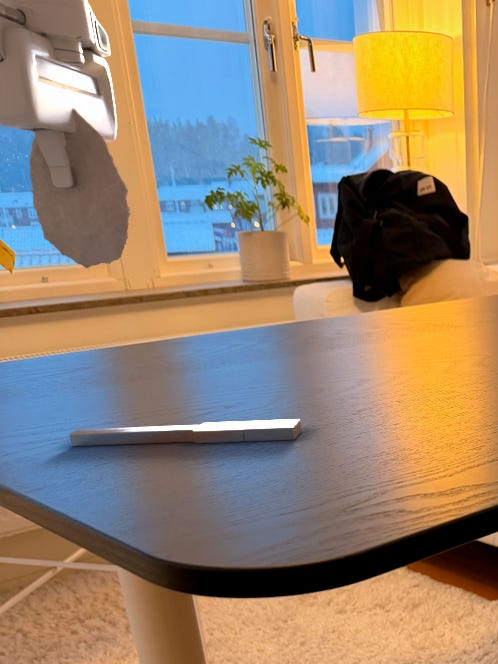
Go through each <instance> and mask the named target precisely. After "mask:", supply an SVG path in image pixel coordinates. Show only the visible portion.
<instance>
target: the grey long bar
mask: <svg viewBox="0 0 498 664" xmlns="http://www.w3.org/2000/svg"><path fill="white" fill-rule="evenodd" d="M301 433H302V423H301V419H300V418H298V419H297V418H294V419H270V420H267V419H266V420H245V421H243V420H242V421H241V420H240V421H219V422H218V421H217V422H203V423H201V424H187V425H186V424H185V425H163V426H162V425H161V426H138V427H134V426H133V427H112V428H111V427H110V428H109V427H108V428H88V429H87V428H85V429H84V428H83V429H77V430H75V431H73V432H70V433H69V439H70V443H71V446H72V447H90V446H91V447H92V446H93V447H95V446H119V445H144V444H145V445H146V444H147V445H148V444H168V443H169V444H170V443H172V444H173V443H194V444H195V445H196V444H197V445H198V444H221V443H223V444H224V443H243V442H246V443H247V442H268V441H269V442H271V441H272V442H274V441H295V440H296V439H297V438H298V437H299V435H300V434H301Z"/></svg>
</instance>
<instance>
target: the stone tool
mask: <svg viewBox="0 0 498 664" xmlns="http://www.w3.org/2000/svg"><path fill="white" fill-rule="evenodd" d="M73 115H74V120H75V124H76V132H75V133H66V132H64V136H65V141H66V146H64V148H65V151H66V154H67V157H68V160H69V163H70V166H71V167H74V170H75V178H76V180H77V185H76V187H74V188H57V187H55V186H54V184H53V182H52V177H51V172H50V168H49V166H48V164H47V162H46V160H45V158H44V156H43V154H42V152H41V150H40V148H39V146H38V142H37V137H36V132H34V135H33V139H32V143H31V150H30V155H29V161H28V162H29V164H28V165H29V177H30V182H31V188H32V191H31V193H32V204H33V208H34V210H35V212H36V216H37V219H38V222H39V224H40V226H41V230H42V237H43V239H44V240H45V241H48V243H49V244H50V245H52V246H53V247H54V248H55V249H56V250H58V251H59V254H61V255H62V256H65V257H67V258H70V259H71V260H72V261H73V262H74V263H76V264H77V265H80V266H83V267H84V268H85V269H89V268H91V267H93V266H98V265H101V264H106V265H107V264H108V265H111V263H113V262H115V261H118V260H119V259H120V258H121V257H122V255H123V251H124V249H125V245H127V240H128V239H129V236H128V230H129V218H130V215H131V214H132V213H131V212H130V211H131V208H130V206H129V203H128V192H129V189H128V187H127V184H126V182H125V181H124V179H123V177H122V175H121V173H120V172H119V169H118V167H117V166H116V164H115V161H114V157H113V155H112V154H111V151H110V148H109V147H108V143H107V142H105V141H104V139H103V137H102V136H101V135H100V134H99V132H98V131H96V130H95V129H94V128H93V127H92V126H91V125H90V124H89V123H88V122H87V121H86V120H85V119H84V118H83V117H82V116H81V115H80V114H79V113H78V112H77V111H76V110H75V109H73Z"/></svg>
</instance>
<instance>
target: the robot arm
mask: <svg viewBox="0 0 498 664" xmlns="http://www.w3.org/2000/svg"><path fill="white" fill-rule="evenodd" d="M111 53H112V52H111V45H110V39H109V35H108V33H107V32H106V30H105V29H104V27H103V26H102V25H101V23H100V22H99V21H98V19H97V17H96V16H95V14H94V12H93V10H92V7H91V5H90V3H89V2H88V0H0V126H1V127H5V128H11V129H15V130H21V131H26V132H32V133H35V132H36V137H37V142H38V146H39V148H40V150H41V152H42V154H43V156H44V158H45V160H46V162H47V164H48V166H49V168H50V172H51V177H52V182H53V184H54V186H55V187H57V188H74V187H76V185H77V180H76V178H75V170H74V167H71V166H70V163H69V160H68V157H67V154H66V151H65V148H64V146H66V141H65V136H64V132H66V133H75V132H76V124H75V120H74V115H73V109H75V110H76V111H77V112H78V113H79V114H80V115H81V116H82V117H83V118H84V119H85V120H86V121H87V122H88V123H89V124H90V125H91V126H92V127H93V128H94V129H95V130H96V131H98V132H99V134H100V135H101V136H102V137H103V139H104V141H105V142H106V143H110V142H111V143H112V142H114V141H115V140H116V138H117V131H118V121H117V119H118V118H117V113H116V112H117V111H116V104H115V96H114V89H113V81H112V77H111V72H110V68H109V65H108V62H107V61H106V59H105V57H106V58H107V57H110V56H111Z"/></svg>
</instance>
